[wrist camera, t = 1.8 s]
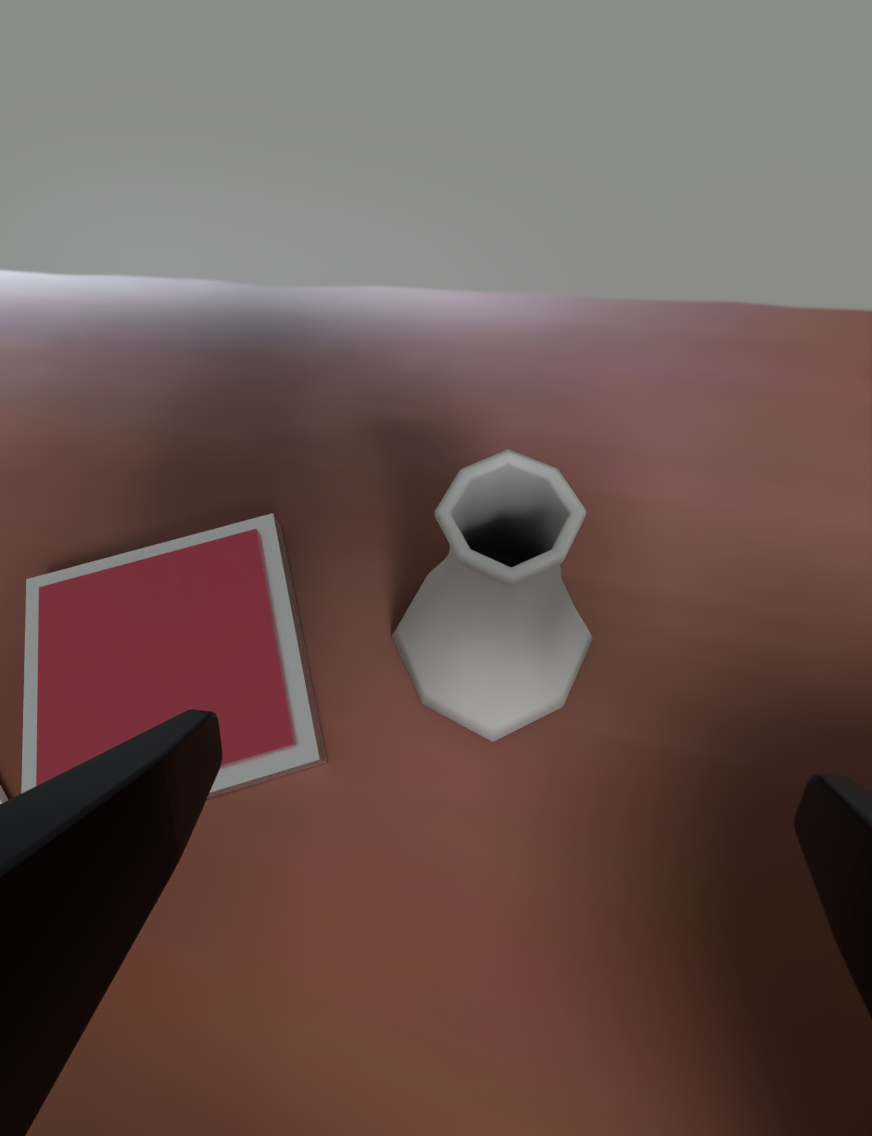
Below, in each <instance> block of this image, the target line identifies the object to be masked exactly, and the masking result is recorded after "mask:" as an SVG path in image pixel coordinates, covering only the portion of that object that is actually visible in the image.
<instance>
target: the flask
mask: <svg viewBox="0 0 872 1136" xmlns="http://www.w3.org/2000/svg"><path fill="white" fill-rule="evenodd" d="M586 512H587V511H586V510H585V508H584V507H583V505H582V504H581V502H580V501H579V499H578V498H577V496H576V495H575V493H574V492H573V490H572V489H571V487H570V486H569V484H568V483H567V481H566V480H565V478H564V477H563V476H562V474H561V473H560V471H559V470H558V469H557V468H555V467H552V466H550V465H547V464H545V463H542V462H540V461H537V460H535V459H532V458H530V457H527V456H525V455H522V454H520V453H517V452H515V451H512V450H510V449H507V450H505V451H502V452H500V453H497V454H495V455H493V456H490V457H488V458H486V459H483V460H481V461H478V462H476V463H474V464H471V465H469V466H467V467H464V468H462V469H460V470H459V472H458V474H457V475H456V477H455V479H454V480H453V482H452V484H451V485H450V487H449V489H448V490H447V492H446V494H445V495H444V497H443V499H442V500H441V502H440V503H439V505H438V507H437V508H436V510H435V518H436V520H437V522H438V523H439V525H440V527H441V529H442V531H443V533H444V535H445V536H446V538H447V540H448V542H449V544H450V551H449V554H448V556H447V557H446V558H445V559H444V561H442V562H441V563H440V564H439V565H438V566H437V567H435V568H434V569H433V570H432V571H431V572H430V573H429V574H428V575H427V576H426V578H425V580H424V581H423V583H422V585H421V587H420V588H419V590H418V592H417V594H416V595H415V597H414V599H413V600H412V602H411V604H410V606H409V607H408V609H407V611H406V612H405V614H404V616H403V618H402V619H401V621H400V623H399V624H398V626H397V628H396V630H395V631H394V633H393V635H392V638H393V641H394V643H395V645H396V647H397V650H398V652H399V654H400V656H401V658H402V661H403V663H404V665H405V667H406V669H407V672H408V674H409V676H410V678H411V681H412V683H413V685H414V687H415V689H416V692H417V694H418V696H419V698H420V701H421V703H422V704H423V705H425V706H427V707H429V708H430V709H432V710H434V711H436V712H438V713H440V714H442V715H443V716H445V717H447V718H449V719H451V720H453V721H455V722H456V723H458V724H460V725H462V726H464V727H466V728H468V729H469V730H471V731H473V732H475V733H477V734H479V735H481V736H482V737H484V738H486V739H488V740H490V741H492V742H493V741H495V740H498V739H500V738H502V737H504V736H506V735H508V734H510V733H512V732H514V731H516V730H518V729H520V728H522V727H524V726H526V725H528V724H530V723H532V722H534V721H536V720H538V719H540V718H542V717H544V716H546V715H548V714H550V713H552V712H554V711H556V710H558V709H560V708H562V707H563V706H564V704H565V701H566V699H567V697H568V695H569V692H570V690H571V688H572V685H573V683H574V681H575V679H576V676H577V674H578V672H579V669H580V667H581V665H582V663H583V660H584V658H585V656H586V653H587V651H588V649H589V647H590V644H591V642H592V640H593V638H592V636H591V634H590V632H589V630H588V629H587V627H586V625H585V624H584V622H583V620H582V619H581V617H580V615H579V614H578V612H577V610H576V608H575V606H574V604H573V602H572V600H571V598H570V596H569V594H568V592H567V590H566V587H565V585H564V583H563V581H562V579H561V568H560V564H561V563H563V561H564V559H565V557H566V555H567V553H568V551H569V549H570V547H571V545H572V543H573V541H574V539H575V537H576V535H577V533H578V530H579V528H580V526H581V524H582V522H583V520H584V518H585V516H586Z"/></svg>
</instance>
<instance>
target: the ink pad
mask: <svg viewBox="0 0 872 1136" xmlns="http://www.w3.org/2000/svg"><path fill="white" fill-rule="evenodd" d="M191 709H195V710H205V711H212V712H214V713H215V714H216V715H217V717H218V720H219V728H220V736H221V744H222V752H223V756H222V763H221V767H220V770H219V772H218V774H217V777H216V779H215V781H214V784H213V786H212V788H211V790H210V793H209V795H208V797H207V799H209V798H212V797H215V796H219V795H222V794H225V793H229V792H232V791H235V790H239V789H242V788H245V787H248V786H252V785H255V784H258V783H262V782H265V781H268V780H272V779H275V778H278V777H281V776H285V775H288V774H291V773H295V772H298V771H301V770H305V769H308V768H311V767H314V766H318V765H321V764H324V763H328V762H327V757H326V752H325V747H324V742H323V736H322V731H321V726H320V721H319V716H318V711H317V706H316V700H315V695H314V690H313V685H312V680H311V675H310V670H309V664H308V659H307V654H306V649H305V644H304V639H303V634H302V628H301V623H300V618H299V613H298V608H297V603H296V598H295V592H294V587H293V582H292V577H291V572H290V567H289V562H288V556H287V551H286V546H285V541H284V536H283V531H282V527H281V525H280V523H279V522H278V520H277V519H276V517H275V515H274V514H273V513H272V514H268V515H264V516H260V517H257V518H253V519H249V520H246V521H242V522H238V523H234V524H231V525H227V526H223V527H219V528H216V529H212V530H208V531H205V532H201V533H197V534H193V535H190V536H186V537H182V538H179V539H175V540H171V541H167V542H164V543H160V544H156V545H152V546H149V547H145V548H141V549H138V550H134V551H130V552H126V553H123V554H119V555H115V556H111V557H108V558H104V559H100V560H97V561H93V562H89V563H85V564H82V565H78V566H74V567H70V568H67V569H63V570H59V571H56V572H52V573H48V574H44V575H41V576H37V577H33V578H29V579H26V621H25V664H24V707H23V750H22V792H21V794H22V793H24V792H26V791H28V790H30V789H32V788H34V787H36V786H38V785H40V784H42V783H44V782H46V781H48V780H50V779H51V778H53V777H55V776H57V775H59V774H61V773H63V772H65V771H67V770H69V769H71V768H73V767H75V766H77V765H79V764H81V763H83V762H85V761H87V760H89V759H91V758H93V757H95V756H97V755H99V754H101V753H103V752H105V751H107V750H109V749H111V748H113V747H115V746H117V745H119V744H121V743H123V742H125V741H127V740H129V739H131V738H133V737H135V736H137V735H139V734H141V733H143V732H145V731H147V730H149V729H151V728H153V727H155V726H157V725H159V724H161V723H163V722H165V721H167V720H169V719H171V718H173V717H175V716H177V715H179V714H181V713H183V712H185V711H187V710H191Z"/></svg>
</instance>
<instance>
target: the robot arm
mask: <svg viewBox="0 0 872 1136" xmlns="http://www.w3.org/2000/svg"><path fill="white" fill-rule="evenodd" d="M222 756H223V752H222V744H221V736H220V728H219V720H218V717H217V715H216V714H215V713H214V712H212V711H205V710H195V709H191V710H187V711H185V712H183V713H181V714H179V715H177V716H175V717H173V718H171V719H169V720H167V721H165V722H163V723H161V724H159V725H157V726H155V727H153V728H151V729H149V730H147V731H145V732H143V733H141V734H139V735H137V736H135V737H133V738H131V739H129V740H127V741H125V742H123V743H121V744H119V745H117V746H115V747H113V748H111V749H109V750H107V751H105V752H103V753H101V754H99V755H97V756H95V757H93V758H91V759H89V760H87V761H85V762H83V763H81V764H79V765H77V766H75V767H73V768H71V769H69V770H67V771H65V772H63V773H61V774H59V775H57V776H55V777H53V778H51V779H50V780H48V781H46V782H44V783H42V784H40V785H38V786H36V787H34V788H32V789H30V790H28V791H26V792H24V793H22V794H20V795H18V796H16V797H14V798H12V799H10V800H8V801H6V802H4V803H2V804H0V1136H25V1135H26V1133H27V1132H28V1130H29V1128H30V1126H31V1125H32V1123H33V1121H34V1119H35V1117H36V1116H37V1114H38V1112H39V1110H40V1108H41V1107H42V1105H43V1103H44V1101H45V1100H46V1098H47V1096H48V1094H49V1092H50V1091H51V1089H52V1087H53V1085H54V1084H55V1082H56V1080H57V1078H58V1076H59V1075H60V1073H61V1071H62V1069H63V1068H64V1066H65V1064H66V1062H67V1060H68V1059H69V1057H70V1055H71V1053H72V1052H73V1050H74V1048H75V1046H76V1044H77V1043H78V1041H79V1039H80V1037H81V1035H82V1034H83V1032H84V1030H85V1028H86V1027H87V1025H88V1023H89V1021H90V1019H91V1018H92V1016H93V1014H94V1012H95V1011H96V1009H97V1007H98V1005H99V1003H100V1002H101V1000H102V998H103V996H104V995H105V993H106V991H107V989H108V987H109V986H110V984H111V982H112V980H113V979H114V977H115V975H116V973H117V971H118V970H119V968H120V966H121V964H122V962H123V961H124V959H125V957H126V955H127V954H128V952H129V950H130V948H131V946H132V945H133V943H134V941H135V939H136V938H137V936H138V934H139V932H140V930H141V929H142V927H143V925H144V923H145V922H146V920H147V918H148V916H149V914H150V913H151V911H152V909H153V907H154V906H155V904H156V902H157V900H158V898H159V897H160V895H161V893H162V891H163V889H164V888H165V886H166V884H167V882H168V881H169V879H170V877H171V875H172V873H173V871H174V870H175V868H176V866H177V864H178V862H179V860H180V858H181V856H182V854H183V852H184V850H185V848H186V845H187V843H188V841H189V839H190V836H191V834H192V832H193V829H194V827H195V825H196V823H197V820H198V818H199V816H200V813H201V811H202V809H203V807H204V804H205V802H206V800H207V797H208V795H209V793H210V790H211V788H212V786H213V784H214V781H215V779H216V777H217V774H218V772H219V770H220V767H221V763H222ZM794 825H795V832H796V835H797V838H798V841H799V843H800V846H801V849H802V852H803V854H804V857H805V860H806V863H807V865H808V868H809V871H810V874H811V877H812V879H813V882H814V885H815V888H816V890H817V893H818V896H819V899H820V901H821V904H822V907H823V910H824V912H825V915H826V918H827V921H828V923H829V926H830V928H831V931H832V933H833V936H834V939H835V941H836V943H837V946H838V948H839V950H840V952H841V955H842V957H843V959H844V961H845V964H846V966H847V968H848V970H849V972H850V974H851V976H852V978H853V980H854V983H855V985H856V987H857V989H858V991H859V993H860V995H861V997H862V999H863V1002H864V1004H865V1006H866V1008H867V1010H868V1012H869V1014H870V1016H871V1019H872V793H871V792H869V791H867V790H866V789H864V788H863V787H861V786H860V785H858V784H856V783H855V782H853V781H852V780H850V779H848V778H846V777H843V776H838V775H828V774H814V775H812V776H811V777H810V778H809V779H808V781H807V784H806V786H805V789H804V792H803V795H802V797H801V800H800V803H799V806H798V808H797V811H796V814H795V820H794Z"/></svg>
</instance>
